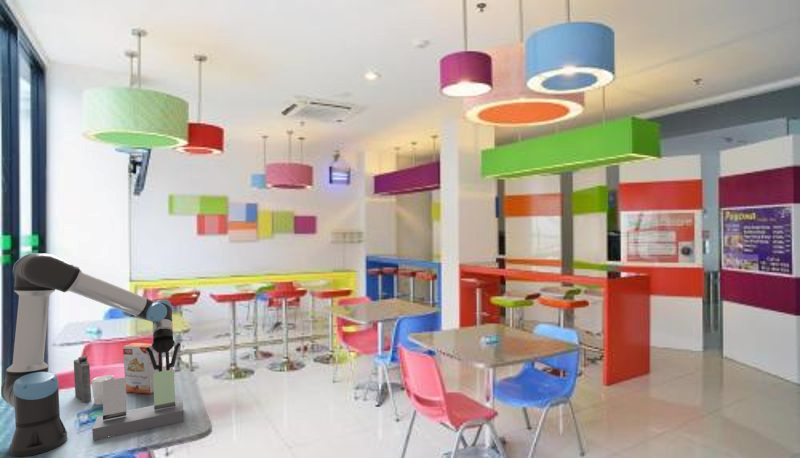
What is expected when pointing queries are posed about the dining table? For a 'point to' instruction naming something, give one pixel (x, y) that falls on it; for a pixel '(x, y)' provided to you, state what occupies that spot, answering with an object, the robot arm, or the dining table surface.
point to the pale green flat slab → (164, 389)
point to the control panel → (138, 420)
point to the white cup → (99, 388)
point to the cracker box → (139, 368)
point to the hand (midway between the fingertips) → (164, 383)
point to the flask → (82, 379)
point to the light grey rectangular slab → (114, 398)
